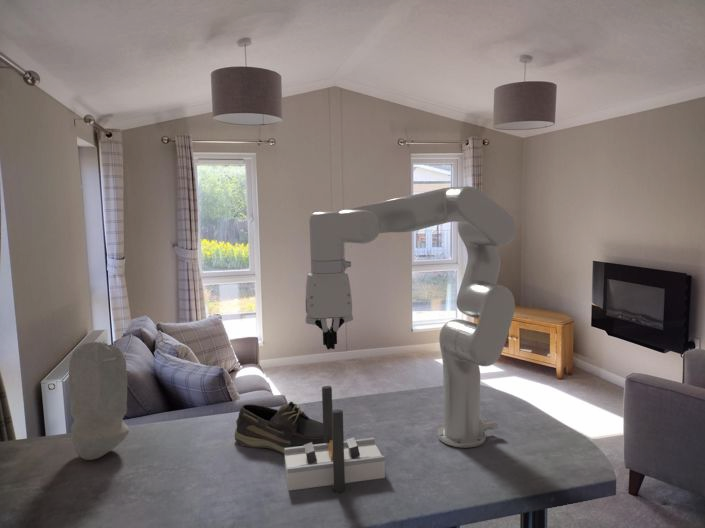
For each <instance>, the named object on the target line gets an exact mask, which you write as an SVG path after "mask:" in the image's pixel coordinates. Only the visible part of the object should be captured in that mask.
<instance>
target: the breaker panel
mask: <svg viewBox="0 0 705 528" xmlns="http://www.w3.org/2000/svg"><path fill="white" fill-rule="evenodd" d="M355 441H356V443H357V445H358V449H359V453H360V456H357V457H354V458H352V457H351V455H350V453H349V450H348V447H347V443H346V440H344V471H345V484H348V483H355V482H356V483H358V482H363V481H370V480H371V481H372V480H380V479H385V478H386V470H385V469H386V468H385V466H386V463H385V462H386V461H385V456H384V455H382V454H381V452H380V450H379V448H378V446H377V445H376V439H375V437H366V438H359V439H355ZM313 447H314V451H315V455H316V459H317V461H315V462H312V463H308V460H307V456H306V452H305V448H304V446H298V447H289V448H284V454H283V455H284V469H285V477H286V484H287V490H288V491H296V490H303V489H311V488H320V487H327V486H334V471H333V459H331V457H330V454H329V451H328V448H329V443H323V444H315V445H313Z"/></svg>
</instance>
